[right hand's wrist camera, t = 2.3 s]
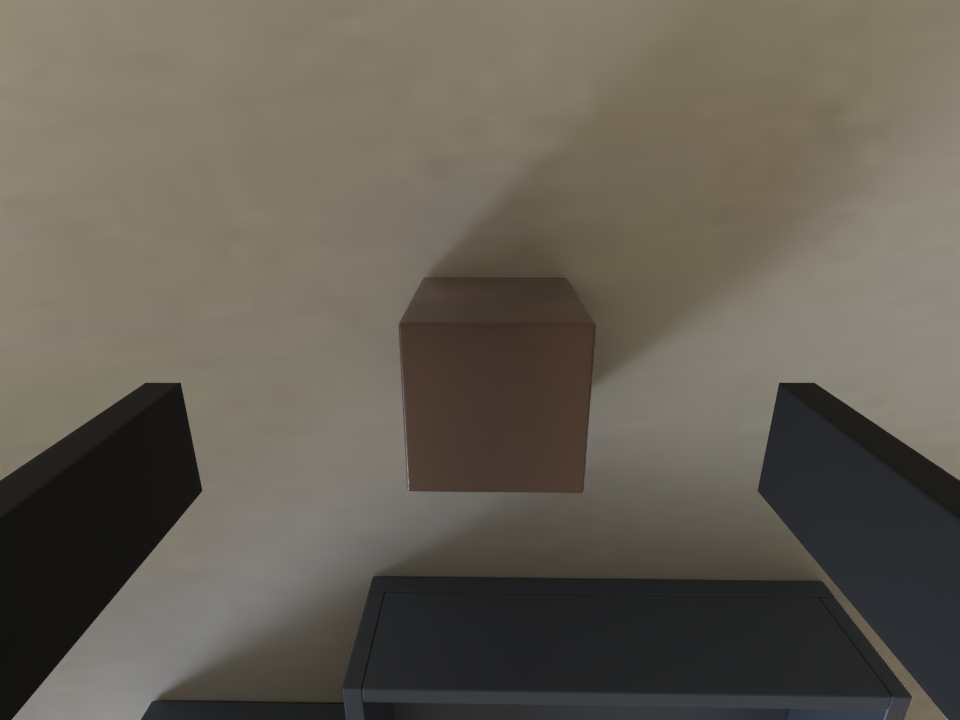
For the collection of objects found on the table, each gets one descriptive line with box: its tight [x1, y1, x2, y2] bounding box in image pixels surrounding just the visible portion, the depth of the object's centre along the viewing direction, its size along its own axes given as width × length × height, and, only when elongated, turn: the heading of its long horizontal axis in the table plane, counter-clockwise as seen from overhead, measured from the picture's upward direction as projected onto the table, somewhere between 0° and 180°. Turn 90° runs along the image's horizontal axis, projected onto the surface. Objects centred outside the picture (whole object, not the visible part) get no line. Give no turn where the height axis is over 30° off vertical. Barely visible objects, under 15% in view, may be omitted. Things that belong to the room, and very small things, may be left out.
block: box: [399, 278, 596, 493], centre depth 16 cm, size 4×4×5 cm
